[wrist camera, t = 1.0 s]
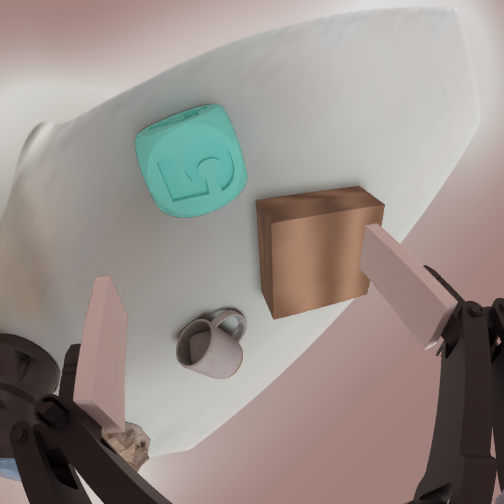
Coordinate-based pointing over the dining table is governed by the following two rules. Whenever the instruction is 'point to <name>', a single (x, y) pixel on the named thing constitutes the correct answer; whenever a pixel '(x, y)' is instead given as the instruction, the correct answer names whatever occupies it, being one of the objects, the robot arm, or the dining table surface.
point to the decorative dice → (192, 161)
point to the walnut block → (314, 248)
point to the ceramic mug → (211, 346)
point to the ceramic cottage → (130, 444)
